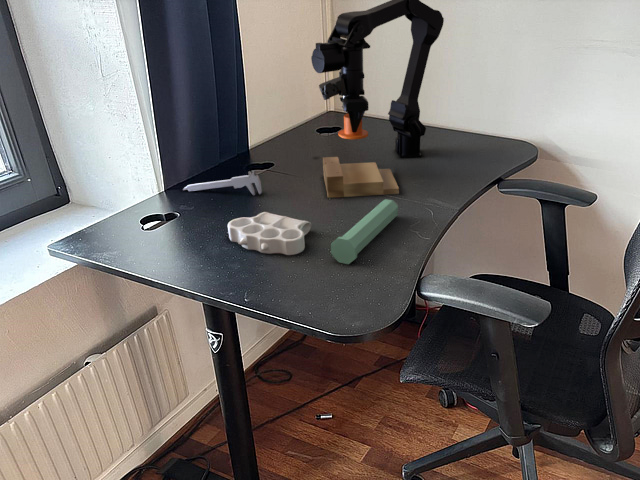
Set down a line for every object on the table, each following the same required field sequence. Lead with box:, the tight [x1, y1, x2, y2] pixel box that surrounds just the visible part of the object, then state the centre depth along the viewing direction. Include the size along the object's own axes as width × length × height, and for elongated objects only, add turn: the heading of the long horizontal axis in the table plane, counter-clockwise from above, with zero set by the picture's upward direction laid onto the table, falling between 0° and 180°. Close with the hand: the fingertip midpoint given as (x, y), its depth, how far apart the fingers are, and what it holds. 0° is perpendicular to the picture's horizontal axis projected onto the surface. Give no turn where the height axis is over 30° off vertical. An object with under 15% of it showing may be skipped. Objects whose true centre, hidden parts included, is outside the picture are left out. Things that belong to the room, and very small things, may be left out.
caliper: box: [182, 170, 263, 196], centre depth 153 cm, size 20×1×6 cm, turn 84°
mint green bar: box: [330, 198, 399, 265], centre depth 133 cm, size 6×6×25 cm
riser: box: [322, 156, 400, 199], centre depth 158 cm, size 18×14×6 cm
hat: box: [337, 113, 369, 140], centre depth 163 cm, size 8×8×5 cm
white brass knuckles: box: [227, 211, 312, 256], centre depth 132 cm, size 3×18×15 cm
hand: (353, 129), depth 164 cm, fingers closed on hat, 5 cm apart
